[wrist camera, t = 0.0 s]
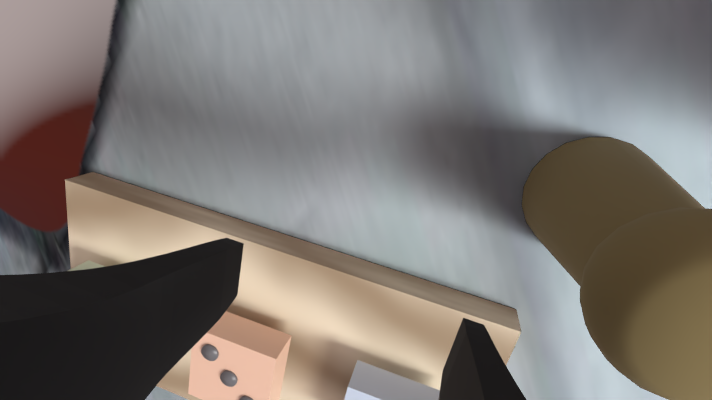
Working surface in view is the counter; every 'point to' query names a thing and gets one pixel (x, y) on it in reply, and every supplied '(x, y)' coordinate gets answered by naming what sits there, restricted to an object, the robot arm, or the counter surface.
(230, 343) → the tile three
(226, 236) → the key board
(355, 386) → the tile two
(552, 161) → the cork
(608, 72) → the counter surface
